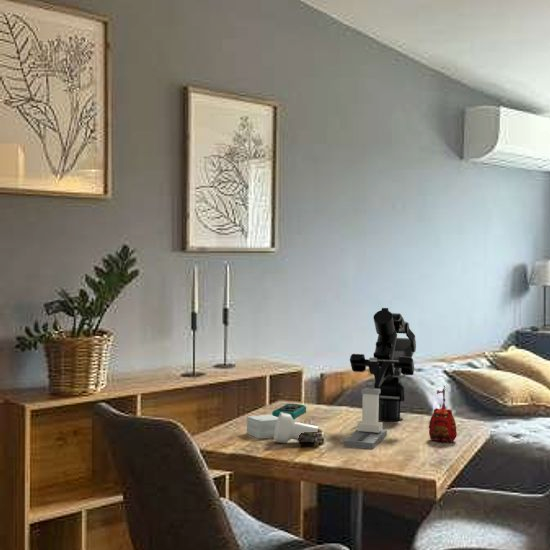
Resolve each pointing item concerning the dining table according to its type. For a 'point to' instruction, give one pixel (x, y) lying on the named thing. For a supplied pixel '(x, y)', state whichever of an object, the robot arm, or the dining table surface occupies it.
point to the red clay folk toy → (442, 424)
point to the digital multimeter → (291, 410)
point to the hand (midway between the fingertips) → (377, 386)
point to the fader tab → (370, 411)
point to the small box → (261, 426)
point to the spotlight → (290, 428)
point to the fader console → (365, 439)
